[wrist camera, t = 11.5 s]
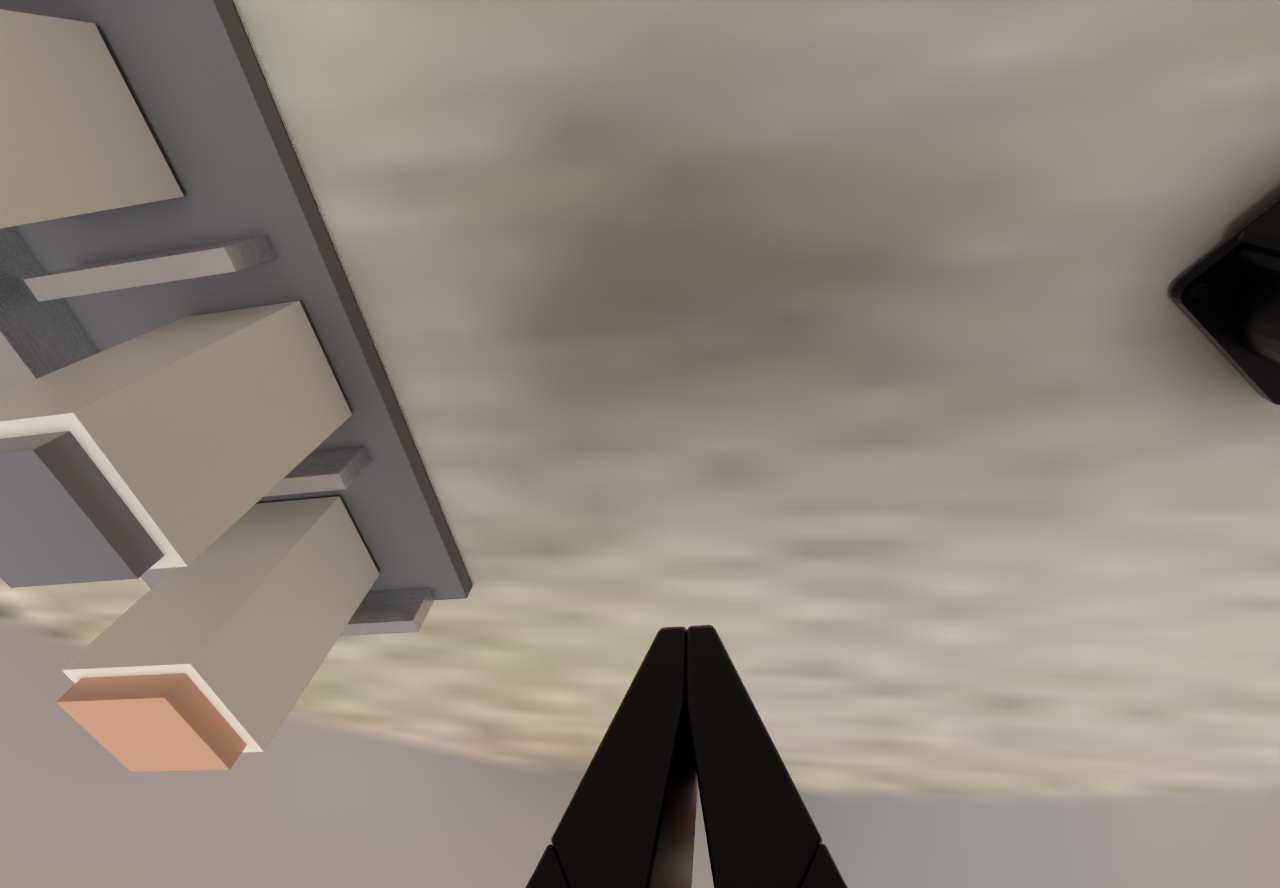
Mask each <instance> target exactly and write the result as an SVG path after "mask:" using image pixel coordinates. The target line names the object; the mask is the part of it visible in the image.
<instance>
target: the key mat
mask: <svg viewBox="0 0 1280 888" xmlns="http://www.w3.org/2000/svg"><path fill="white" fill-rule="evenodd" d="M0 9H2V10H8V11H15V12H22V13H29V14H35V15H42V16H49V17H56V18H62V19H69V20H76V21H83V22H89V23H95V25H96V27H97V29H98V31H99V33H100V35H101V37H102V39H103V41H104V43H105V45H106V47H107V49H108V50H109V52H110V54H111V56H112V58H113V60H114V62H115V64H116V66H117V68H118V70H119V72H120V74H121V76H122V78H123V79H124V81H125V83H126V85H127V87H128V89H129V91H130V93H131V95H132V97H133V99H134V101H135V103H136V105H137V106H138V108H139V110H140V112H141V114H142V116H143V118H144V120H145V122H146V124H147V126H148V128H149V130H150V132H151V134H152V135H153V137H154V139H155V141H156V143H157V145H158V147H159V149H160V151H161V153H162V155H163V157H164V159H165V161H166V163H167V164H168V166H169V168H170V170H171V172H172V174H173V176H174V178H175V180H176V182H177V184H178V186H179V188H180V190H181V192H182V193H183V195H184V197H179V198H173V199H167V200H161V201H156V202H150V203H144V204H139V205H133V206H127V207H122V208H116V209H110V210H104V211H99V212H93V213H87V214H82V215H76V216H70V217H64V218H59V219H53V220H47V221H41V222H36V223H30V224H24V225H18V226H16V228H17V229H18V230H19V232H20V233H21V235H22V236H23V238H24V239H25V241H26V242H27V244H28V245H29V247H30V248H31V250H32V251H33V253H34V254H35V256H36V257H37V259H38V260H39V262H40V263H41V265H42V266H43V268H44V269H45V271H46V272H47V273H50V272H54V271H58V270H62V269H66V268H70V267H74V266H78V265H81V264H87V263H93V262H99V261H106V260H112V259H118V258H124V257H130V256H137V255H143V254H149V253H155V252H161V251H168V250H174V249H180V248H186V247H192V246H199V245H205V244H211V243H217V242H223V241H230V240H236V239H242V238H248V237H254V236H261V235H267V234H268V237H269V239H270V241H271V243H272V245H273V247H274V250H275V252H276V254H277V256H278V257H275V258H272V259H269V260H267V261H264V262H261V263H258V264H255V265H253V266H250V267H247V268H244V269H242V270H239V271H236V272H229V273H223V274H216V275H210V276H203V277H197V278H190V279H184V280H177V281H171V282H164V283H157V284H151V285H144V286H138V287H131V288H125V289H118V290H112V291H105V292H99V293H92V294H85V295H79V296H72V297H66V298H64V299H65V300H66V302H67V303H68V305H69V306H70V308H71V309H72V311H73V312H74V314H75V315H76V317H77V318H78V319H79V321H80V322H81V324H82V325H83V327H84V328H85V330H86V331H87V333H88V334H89V336H90V337H91V339H92V340H93V342H94V343H95V345H96V346H97V348H98V349H99V351H100V352H102V351H105V350H107V349H109V348H112V347H114V346H117V345H119V344H121V343H124V342H126V341H129V340H131V339H133V338H136V337H138V336H141V335H143V334H145V333H148V332H150V331H153V330H155V329H158V328H160V327H162V326H165V325H167V324H170V323H172V322H174V321H177V320H179V319H182V318H184V317H188V316H195V315H202V314H210V313H217V312H224V311H231V310H238V309H245V308H252V307H259V306H266V305H273V304H280V303H287V302H294V301H300V303H301V305H302V307H303V310H304V312H305V314H306V316H307V318H308V320H309V323H310V325H311V327H312V329H313V331H314V333H315V336H316V338H317V340H318V342H319V344H320V346H321V349H322V351H323V353H324V355H325V357H326V359H327V362H328V364H329V366H330V368H331V370H332V372H333V375H334V377H335V379H336V381H337V383H338V385H339V388H340V390H341V392H342V394H343V396H344V398H345V401H346V403H347V405H348V407H349V409H350V411H351V414H352V415H351V416H350V417H349V418H348V419H347V420H346V421H345V422H344V423H343V424H342V425H341V426H339V427H338V428H337V429H336V430H335V431H334V432H333V433H332V434H331V435H330V436H329V437H327V438H326V439H325V440H324V441H323V442H322V443H321V444H320V445H319V446H318V447H317V448H316V449H314V450H313V451H315V450H324V449H334V448H344V447H353V446H363V445H365V446H366V448H367V451H368V453H369V455H370V457H371V459H372V461H371V462H370V463H369V464H368V465H367V466H366V467H365V469H364V470H363V471H362V472H361V473H360V474H359V475H358V476H357V478H356V479H355V480H354V481H353V482H352V483H351V484H350V485H349V487H348V488H347V489H342V490H331V491H321V492H310V493H299V494H288V495H277V496H266V497H262V498H261V499H260V500H259V501H258V502H257V503H256V504H260V503H271V502H282V501H293V500H304V499H315V498H326V497H337V496H339V497H340V499H341V501H342V503H343V505H344V507H345V508H346V510H347V512H348V514H349V516H350V518H351V520H352V522H353V524H354V526H355V528H356V530H357V532H358V534H359V536H360V537H361V539H362V541H363V543H364V545H365V547H366V549H367V551H368V553H369V555H370V557H371V559H372V561H373V563H374V565H375V566H376V568H377V570H378V572H379V574H380V575H379V576H378V578H377V579H376V581H375V582H374V584H373V585H372V587H371V588H370V590H369V591H376V590H391V589H407V588H422V587H431V589H432V591H433V593H434V595H435V597H436V598H435V600H445V599H461V598H467V597H468V594H469V592H470V590H471V588H472V584H471V581H470V579H469V576H468V574H467V572H466V569H465V567H464V564H463V562H462V559H461V557H460V555H459V552H458V550H457V547H456V545H455V542H454V540H453V537H452V535H451V533H450V530H449V528H448V525H447V523H446V520H445V518H444V516H443V513H442V511H441V508H440V506H439V503H438V501H437V499H436V496H435V494H434V491H433V489H432V486H431V484H430V482H429V479H428V477H427V474H426V472H425V469H424V467H423V464H422V462H421V460H420V457H419V455H418V452H417V450H416V447H415V445H414V443H413V440H412V438H411V435H410V433H409V430H408V428H407V426H406V423H405V421H404V418H403V416H402V413H401V411H400V409H399V406H398V404H397V401H396V399H395V396H394V394H393V392H392V389H391V387H390V384H389V382H388V379H387V377H386V374H385V372H384V370H383V367H382V365H381V362H380V360H379V357H378V355H377V353H376V350H375V348H374V345H373V343H372V340H371V338H370V336H369V333H368V331H367V328H366V326H365V323H364V321H363V319H362V316H361V314H360V311H359V309H358V306H357V304H356V301H355V299H354V297H353V294H352V292H351V289H350V287H349V284H348V282H347V280H346V277H345V275H344V272H343V270H342V267H341V265H340V263H339V260H338V258H337V255H336V253H335V250H334V248H333V246H332V243H331V241H330V238H329V236H328V233H327V231H326V228H325V226H324V224H323V221H322V219H321V216H320V214H319V211H318V209H317V207H316V204H315V202H314V199H313V197H312V194H311V192H310V190H309V187H308V185H307V182H306V180H305V177H304V175H303V173H302V170H301V168H300V165H299V163H298V160H297V158H296V155H295V153H294V151H293V148H292V146H291V143H290V141H289V138H288V136H287V134H286V131H285V129H284V126H283V124H282V121H281V119H280V117H279V114H278V112H277V109H276V107H275V104H274V102H273V100H272V97H271V95H270V92H269V90H268V87H267V85H266V82H265V80H264V78H263V75H262V73H261V70H260V68H259V65H258V63H257V61H256V58H255V56H254V53H253V51H252V48H251V46H250V44H249V41H248V39H247V36H246V34H245V31H244V29H243V27H242V24H241V22H240V19H239V17H238V14H237V12H236V9H235V7H234V5H233V2H232V0H0Z"/></svg>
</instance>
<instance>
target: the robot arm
mask: <svg viewBox="0 0 1280 888" xmlns="http://www.w3.org/2000/svg"><path fill="white" fill-rule="evenodd" d="M1197 285H1199V287H1198V290H1197V291H1196V292H1195V293H1194V294H1192V295H1190V293H1191V290H1192V289H1193V288H1194V287H1195V286H1197ZM1171 297H1172V299H1173V301H1174V302H1175V303H1176V304H1177V305H1178V306H1179V307H1180V309H1181V310H1182V311H1183V312H1184V313H1185V314H1186V315H1187V316H1188V317H1189V318H1190V319H1191V320H1192V322H1193V323H1194V324H1195V325H1196V326H1197V327H1198V328H1199V329H1200V330H1201V331H1202V332H1203V333H1204V335H1205V336H1206V337H1207V338H1208V339H1209V340H1210V341H1211V342H1212V343H1213V344H1214V345H1215V347H1216V348H1217V349H1218V350H1219V351H1220V352H1221V353H1222V354H1223V355H1224V356H1225V357H1226V358H1227V360H1228V361H1229V362H1230V363H1231V364H1232V365H1233V366H1234V367H1235V368H1236V369H1237V370H1238V371H1239V373H1240V374H1241V375H1242V376H1243V377H1244V378H1245V379H1246V380H1247V381H1248V382H1249V383H1250V384H1251V386H1252V387H1253V388H1254V389H1255V390H1256V391H1257V392H1258V393H1259V394H1260V395H1261V396H1262V397H1263V398H1265V399H1267V400H1269V401H1271V402H1273V403H1275V404H1278V405H1280V201H1279V202H1278V203H1277V204H1275V205H1274V206H1273V207H1271V208H1270V209H1269V210H1268V211H1266V212H1265V213H1264V214H1262V215H1261V216H1260V217H1259V218H1257V219H1256V220H1255V221H1254V222H1252V223H1251V224H1250V225H1248V226H1247V227H1246V228H1245V229H1243V230H1242V231H1241V232H1240V233H1238V234H1237V235H1236V236H1234V237H1233V238H1232V239H1231V240H1229V241H1228V242H1227V243H1226V244H1224V245H1223V246H1222V247H1220V248H1219V249H1218V250H1217V251H1215V252H1214V253H1213V254H1211V255H1210V256H1209V257H1208V258H1206V259H1205V260H1204V261H1203V262H1201V263H1200V264H1199V265H1197V266H1196V267H1195V268H1194V269H1192V270H1191V271H1190V272H1189V273H1187V274H1186V275H1185V276H1183V277H1182V278H1181V279H1180V280H1179V281H1178V282H1177V283H1176V284H1175V285H1174V287H1173V289H1172V294H1171ZM697 784H698V786H699V792H700V798H701V805H702V812H703V818H704V824H705V831H706V837H707V844H708V850H709V857H710V863H711V870H712V876H713V882H714V888H848V887H847V885H846V884H845V882H844V880H843V878H842V876H841V874H840V872H839V870H838V868H837V866H836V864H835V862H834V860H833V859H832V857H831V855H830V853H829V851H828V849H827V847H826V845H824V844H822V838H821V836H820V834H819V832H818V830H817V828H816V826H815V824H814V822H813V820H812V818H811V816H810V814H809V812H808V810H807V808H806V806H805V804H804V802H803V800H802V798H801V796H800V795H799V792H798V791H797V789H796V787H795V785H794V783H793V781H792V779H791V777H790V775H789V773H788V771H787V769H786V767H785V765H784V763H783V761H782V759H781V757H780V755H779V753H778V751H777V749H776V747H775V745H774V743H773V741H772V739H771V738H770V736H769V734H768V732H767V730H766V728H765V726H764V724H763V722H762V720H761V718H760V716H759V714H758V712H757V710H756V708H755V706H754V704H753V702H752V700H751V698H750V696H749V694H748V692H747V690H746V688H745V686H744V685H743V683H742V681H741V679H740V677H739V675H738V673H737V671H736V669H735V667H734V665H733V663H732V661H731V659H730V657H729V655H728V653H727V651H726V649H725V647H724V645H723V643H722V641H721V639H720V637H719V635H718V633H717V632H716V630H715V628H714V627H713V626H711V625H702V626H690V627H689V628H688V629H687V630H686V628H684V627H665V628H662V629H660V630H659V632H658V633H657V635H656V637H655V639H654V641H653V643H652V645H651V647H650V648H649V650H648V652H647V654H646V656H645V658H644V660H643V662H642V664H641V666H640V668H639V670H638V672H637V674H636V676H635V678H634V679H633V681H632V683H631V685H630V687H629V689H628V691H627V693H626V695H625V697H624V699H623V701H622V703H621V705H620V707H619V709H618V711H617V712H616V714H615V716H614V718H613V720H612V722H611V724H610V726H609V728H608V730H607V732H606V734H605V736H604V738H603V740H602V742H601V743H600V745H599V747H598V749H597V751H596V753H595V755H594V757H593V759H592V761H591V763H590V765H589V767H588V769H587V771H586V773H585V774H584V776H583V779H582V780H581V782H580V784H579V786H578V788H577V790H576V792H575V794H574V796H573V798H572V800H571V802H570V804H569V805H568V807H567V810H566V812H565V813H564V815H563V817H562V819H561V821H560V823H559V825H558V827H557V829H556V831H555V833H554V835H553V836H552V844H553V845H548V846H547V848H546V850H545V851H544V853H543V855H542V857H541V859H540V861H539V863H538V865H537V867H536V869H535V871H534V873H533V875H532V877H531V879H530V880H529V882H528V884H527V886H526V888H691V884H692V869H693V852H694V837H695V820H696V804H697Z"/></svg>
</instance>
